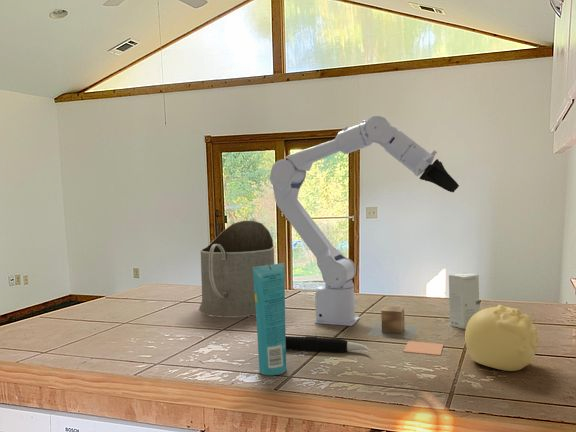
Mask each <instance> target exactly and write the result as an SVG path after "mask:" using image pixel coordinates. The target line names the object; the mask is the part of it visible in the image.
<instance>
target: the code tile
mask: <svg viewBox="0 0 576 432" xmlns="http://www.w3.org/2000/svg"><path fill="white" fill-rule="evenodd" d="M404 328H405V329H404V331H403V332H402V334H394V333H382V323H375V324H374V326H373V327H372V328H371V329H370V331H369V332H368V333H367V334H366V335H367V336H371V337H372V336H375V337H383V338H384V337H385V338H386V337H387V338H398V339H408V340H410V339H411V340H413V339H414V337H415V336H416V333H417V331H418V329H419V326H410V325H409V326H407V325H404Z"/></svg>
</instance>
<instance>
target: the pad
mask: <svg viewBox="0 0 576 432" xmlns="http://www.w3.org/2000/svg"><path fill="white" fill-rule="evenodd" d="M443 349H444V343H434V342H423V341H412V340H411V341H410V340H408V342H407V343H406V345H405V347H404V349H403V351H402V352H403V353H410V354H418V355H419V354H420V355H428V356H429V355H430V356H440V357H441V355H442V351H443Z"/></svg>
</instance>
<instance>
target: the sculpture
mask: <svg viewBox="0 0 576 432" xmlns="http://www.w3.org/2000/svg"><path fill="white" fill-rule="evenodd" d="M532 319H533V318H532V317H531V316H530V315H528V314H524V313H523V312H522V311H521V310H520V309H519V308H516V307H510V306H507V305H503V304H498V305H497V306H493V307H486V308H482V309H481V310H480V309H479V311H478V312H477V313H475V314H474V315H473V316H472V317H471V319H470V320H469V322H468V324H467V327H466V329H465V332H464V341H465V346H466V347H465V348H466V350H467V352H468V354H469V355H468V356H469V357H470V358H471V359H472V360H473V361H474V362H475V363H477V364H480V365H483V366H486V367H489V368H492V369H497V370H501V371H505V372H506V371H507V372H517V371H520V370H522V369H524V368H525V367H527V366H530V365H531V363H532V361H534V359H535V356H536V354H537V353H538V352H539V350H538V347H537V346H538V344H539V336H538V330H537V326H536V324H534V323H533V320H532Z"/></svg>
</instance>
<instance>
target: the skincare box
mask: <svg viewBox="0 0 576 432" xmlns="http://www.w3.org/2000/svg"><path fill="white" fill-rule="evenodd" d="M479 283H480V281H479V274H477V273H476V274H475V273H467V272H464V273H454V274H449V275H448V301H449V302H448V304H449V307H448V308H449V310H448V311H449V313H448V314H449V326H451V327H455V328H458V329H459V328H460V329H464V330H466V327H467V324H468V322H469V320H470V319H471V317H472V316H473V315H474V314H475V313H477V312H478V311H480V284H479Z"/></svg>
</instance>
